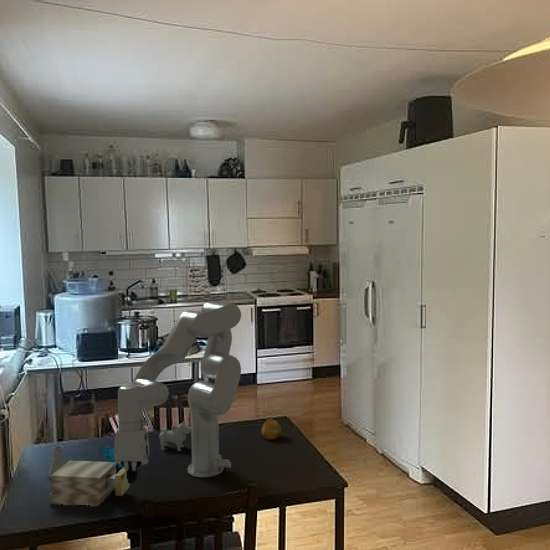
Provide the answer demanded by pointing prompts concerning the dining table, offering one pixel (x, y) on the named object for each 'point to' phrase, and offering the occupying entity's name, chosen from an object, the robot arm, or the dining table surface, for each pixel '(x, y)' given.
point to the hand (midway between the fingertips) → (132, 481)
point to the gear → (110, 455)
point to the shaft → (118, 482)
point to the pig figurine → (174, 435)
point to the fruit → (271, 429)
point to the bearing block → (81, 483)
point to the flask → (56, 460)
